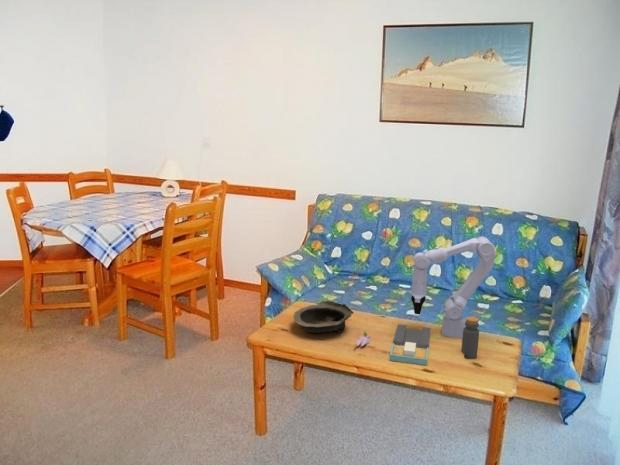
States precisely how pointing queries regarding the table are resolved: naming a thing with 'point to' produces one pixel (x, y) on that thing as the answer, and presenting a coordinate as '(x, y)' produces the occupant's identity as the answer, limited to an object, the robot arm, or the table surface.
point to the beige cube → (409, 351)
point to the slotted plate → (412, 336)
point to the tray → (408, 358)
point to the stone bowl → (323, 317)
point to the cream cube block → (410, 344)
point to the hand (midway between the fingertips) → (417, 313)
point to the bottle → (470, 338)
